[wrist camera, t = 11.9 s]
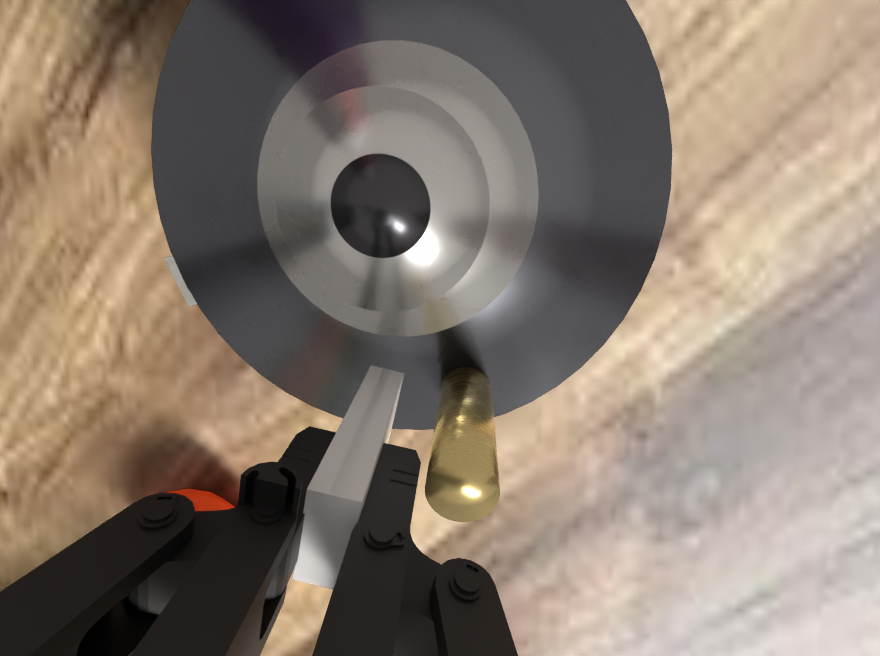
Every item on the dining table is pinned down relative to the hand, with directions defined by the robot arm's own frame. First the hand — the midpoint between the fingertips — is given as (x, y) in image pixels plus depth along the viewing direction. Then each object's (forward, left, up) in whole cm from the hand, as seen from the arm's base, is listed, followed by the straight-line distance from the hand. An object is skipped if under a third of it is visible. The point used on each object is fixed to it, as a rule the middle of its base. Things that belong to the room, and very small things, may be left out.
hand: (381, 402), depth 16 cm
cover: (-1, +7, -2) cm, 7 cm away
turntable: (-1, +7, -4) cm, 8 cm away
